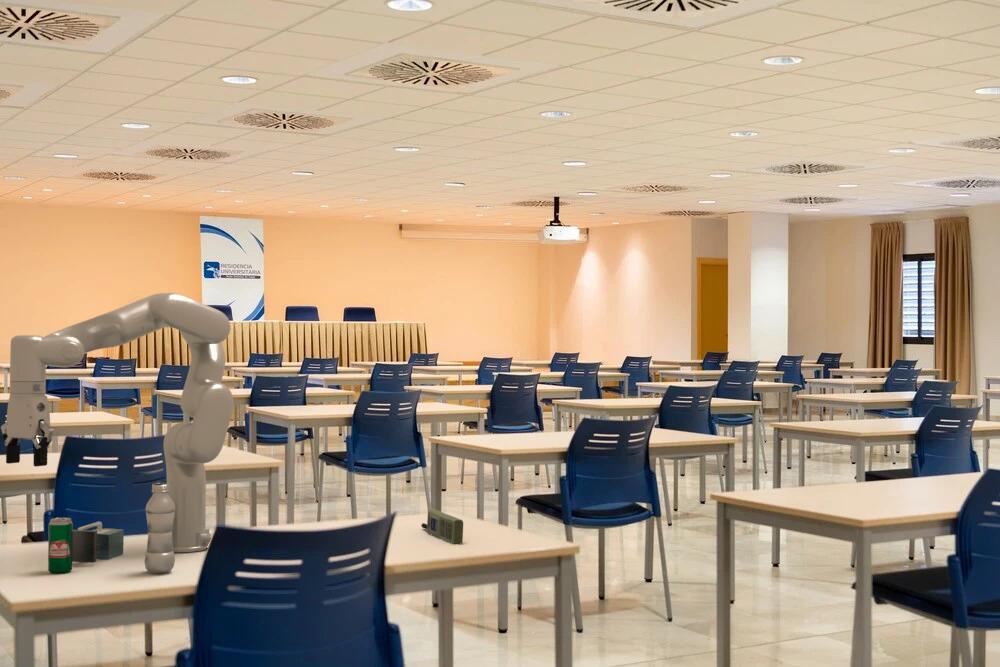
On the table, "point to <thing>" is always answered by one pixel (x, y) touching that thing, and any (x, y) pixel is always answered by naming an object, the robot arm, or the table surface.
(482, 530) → the table surface
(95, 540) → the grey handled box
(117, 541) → the dark grey cube
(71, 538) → the soda can
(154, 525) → the plastic bottle
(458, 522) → the handheld radio
